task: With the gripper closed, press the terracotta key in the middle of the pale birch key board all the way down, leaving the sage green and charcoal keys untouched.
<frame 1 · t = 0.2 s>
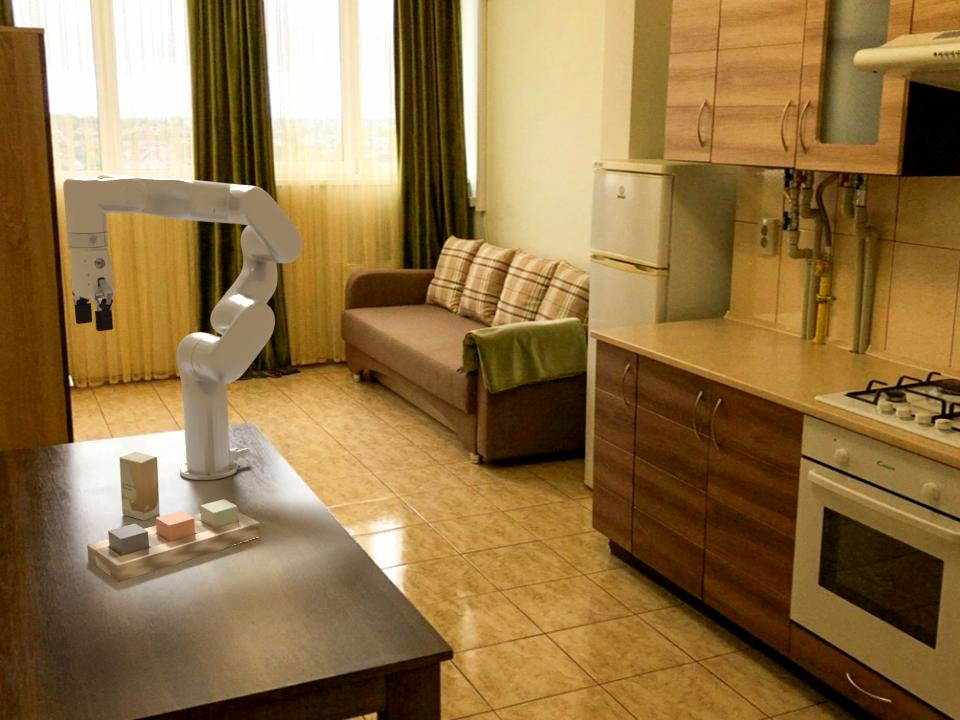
hand: (94, 326, 204), 36 cm above the table, tool pointing down, fingers open, 9 cm apart
charcoal key: (130, 562, 182), resting on key board, slide at 0.0 cm
terracotta key: (176, 548, 188), resting on key board, slide at 0.0 cm
skincare box: (141, 515, 204), on the table
key board: (176, 548, 188), on the table
sage key: (220, 535, 194), resting on key board, slide at 0.0 cm
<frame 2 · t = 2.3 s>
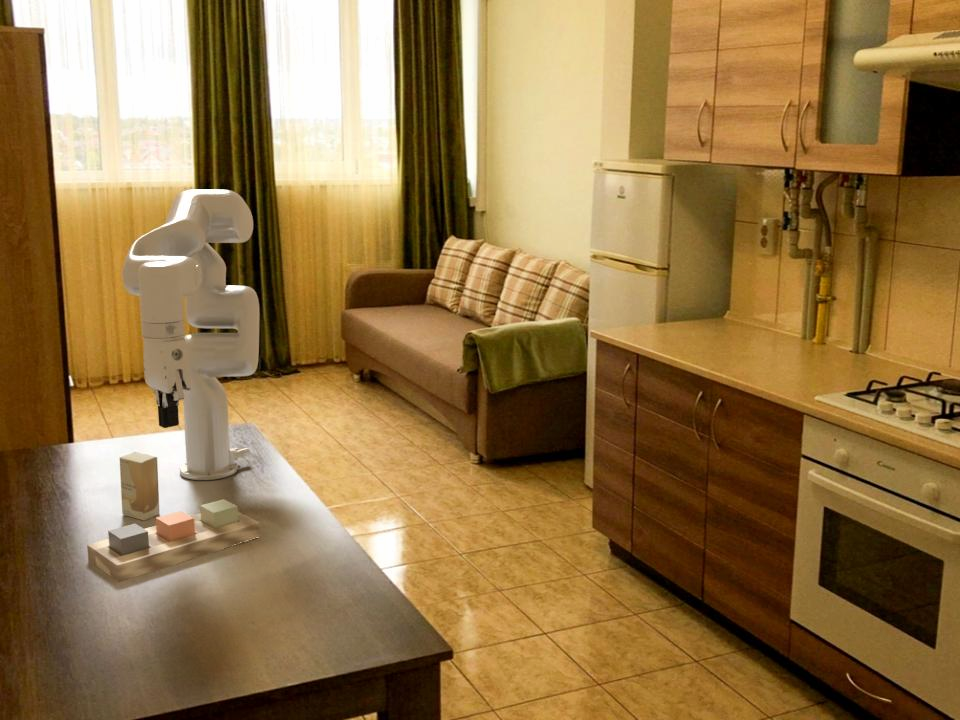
hand: (169, 425, 191), 21 cm above the table, tool pointing down, fingers closed
nothing on the table moved.
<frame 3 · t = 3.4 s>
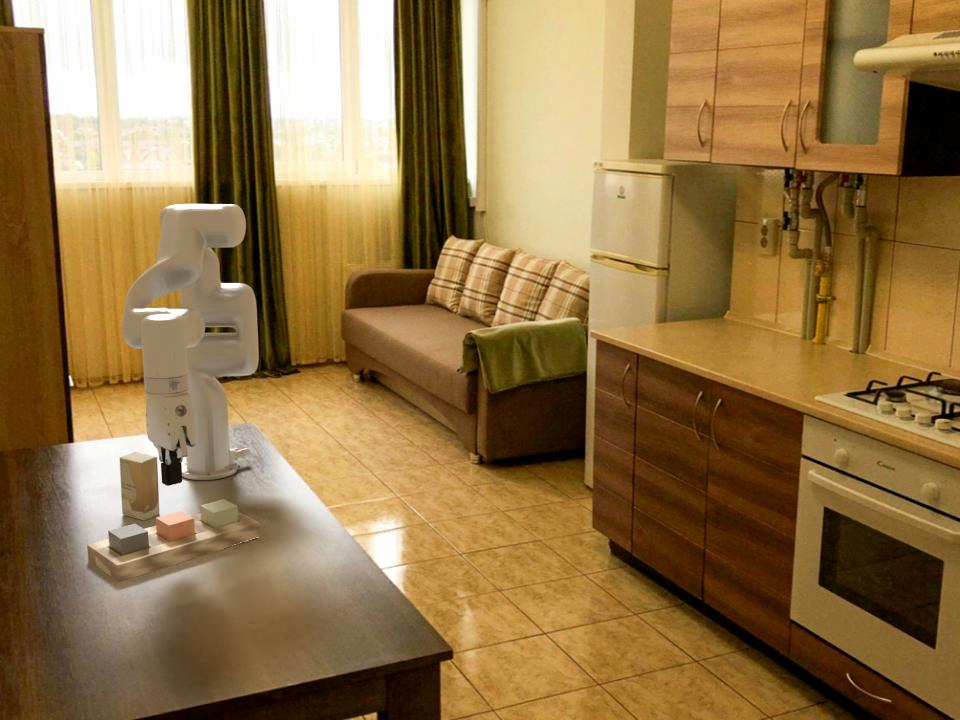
hand: (172, 483, 184), 13 cm above the table, tool pointing down, fingers closed
nothing on the table moved.
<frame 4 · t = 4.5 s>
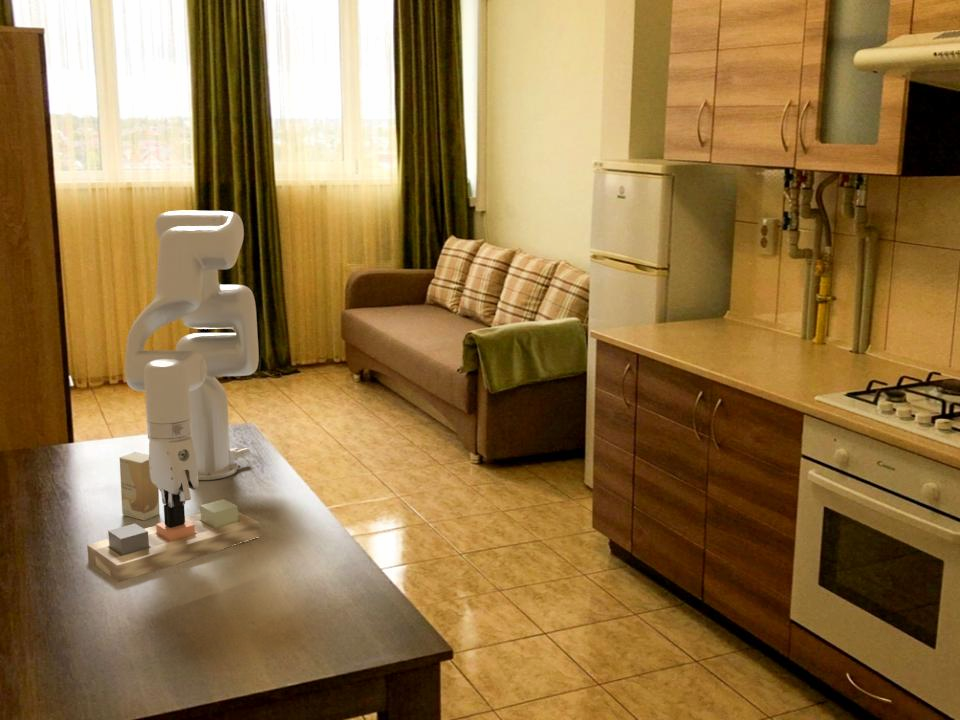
hand: (175, 524, 186), 5 cm above the table, tool pointing down, fingers closed
terracotta key: (177, 554, 188), resting on key board, slide at 1.2 cm, touching gripper
everything else where it was.
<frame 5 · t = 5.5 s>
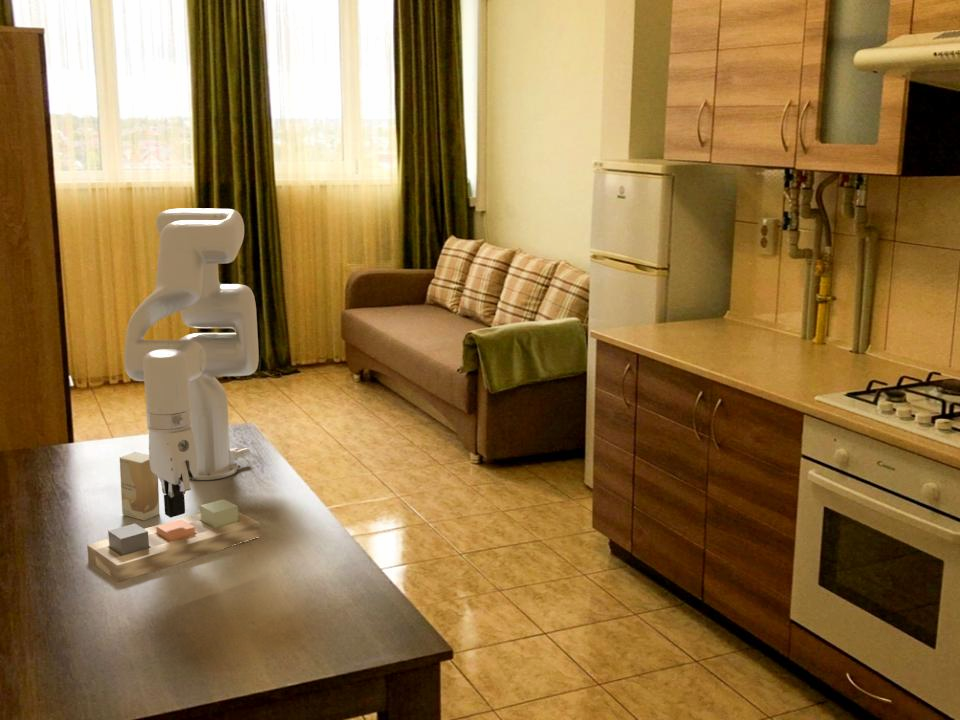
hand: (175, 514, 187), 7 cm above the table, tool pointing down, fingers closed
terracotta key: (177, 557, 188), resting on key board, slide at 1.7 cm
everything else where it was.
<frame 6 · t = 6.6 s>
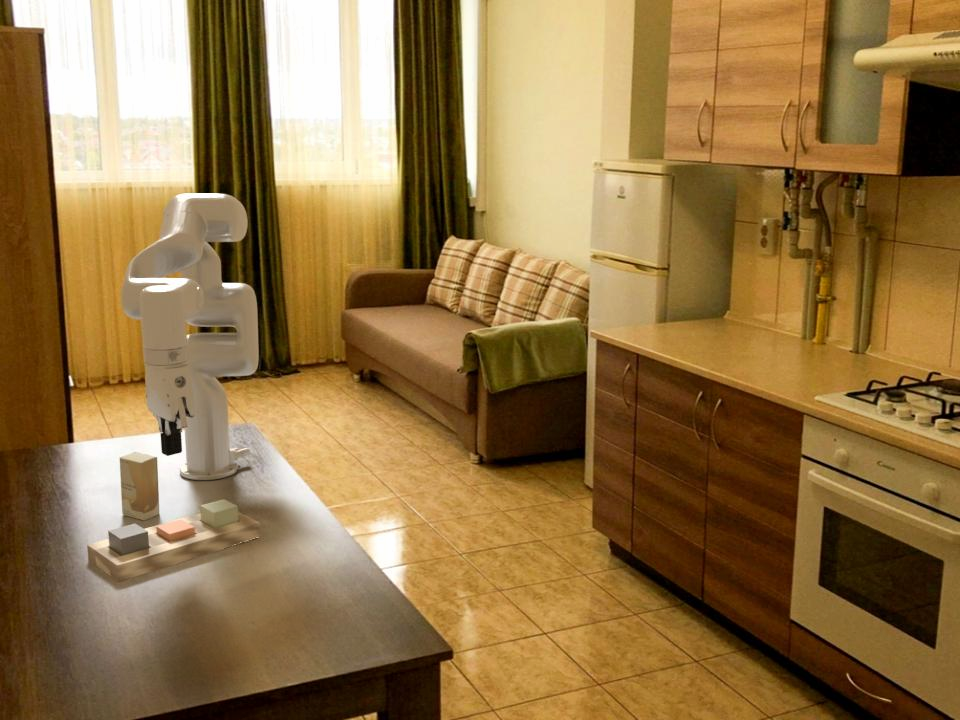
hand: (172, 453, 186), 18 cm above the table, tool pointing down, fingers closed
nothing on the table moved.
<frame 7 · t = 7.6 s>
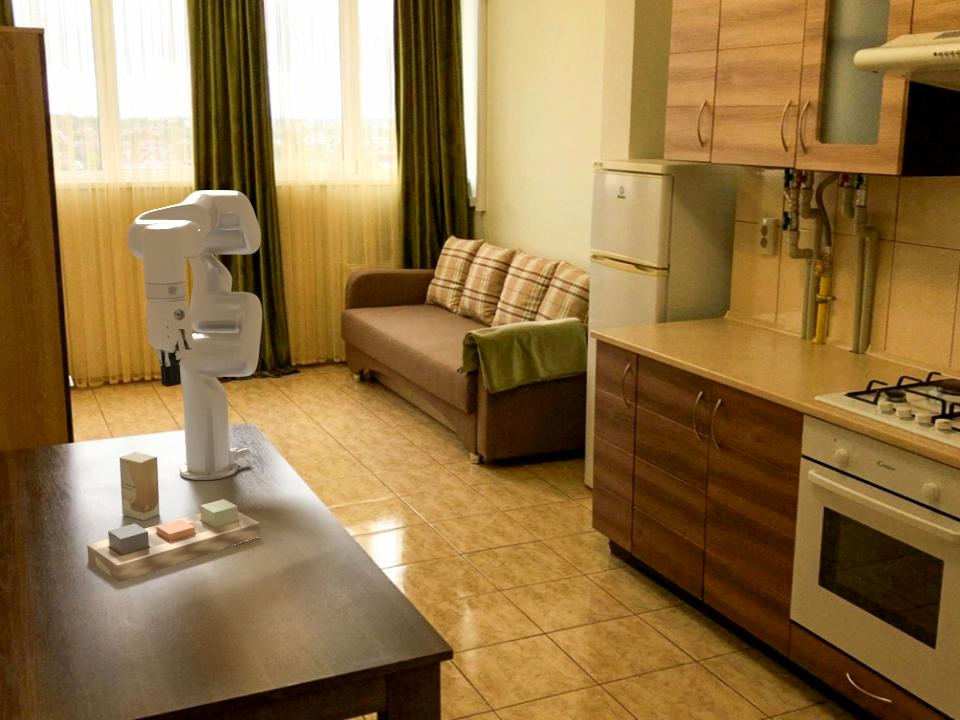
hand: (171, 384, 197), 27 cm above the table, tool pointing down, fingers closed
nothing on the table moved.
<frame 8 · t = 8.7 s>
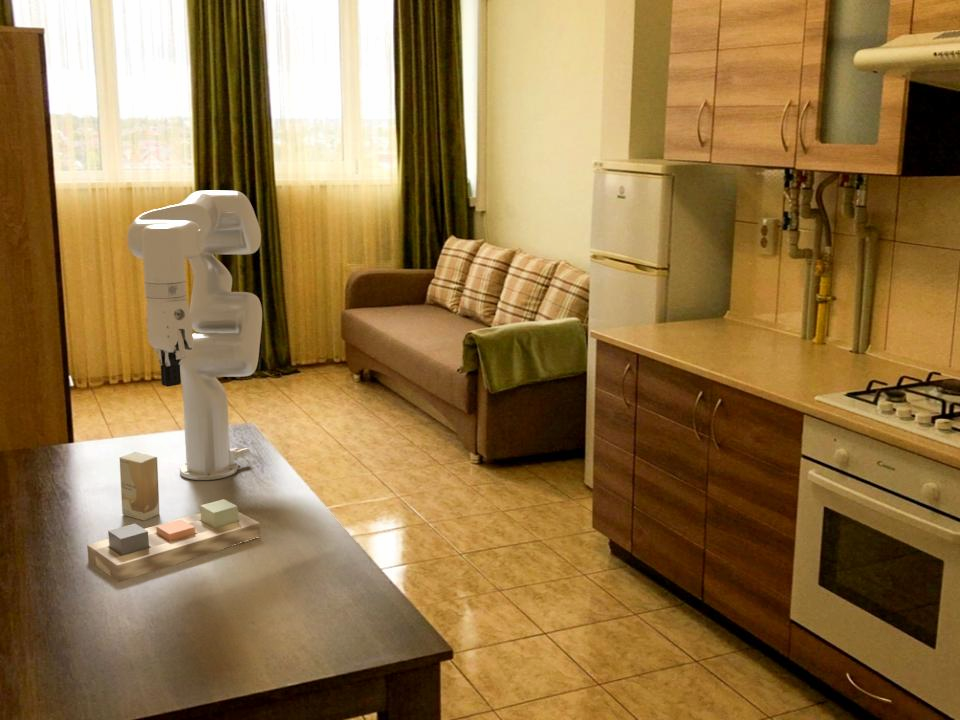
hand: (171, 384, 197), 27 cm above the table, tool pointing down, fingers closed
nothing on the table moved.
at the end: terracotta key slide at 1.7 cm; sage key slide at 0.0 cm; charcoal key slide at 0.0 cm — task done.
